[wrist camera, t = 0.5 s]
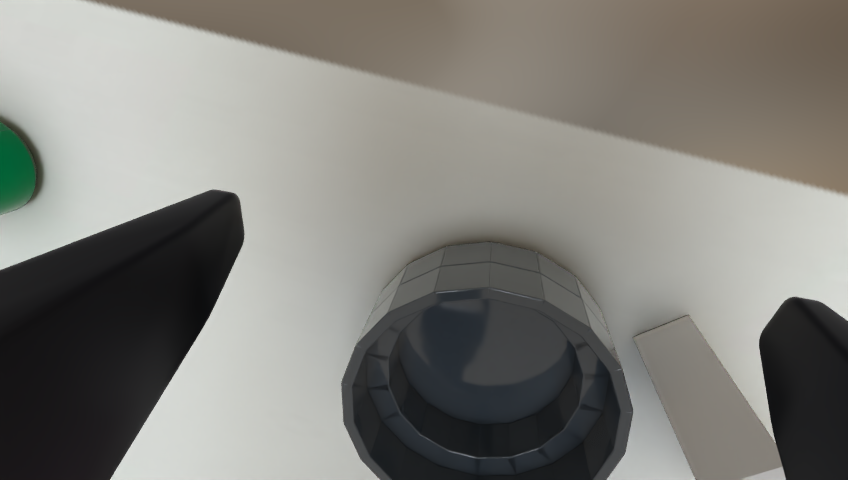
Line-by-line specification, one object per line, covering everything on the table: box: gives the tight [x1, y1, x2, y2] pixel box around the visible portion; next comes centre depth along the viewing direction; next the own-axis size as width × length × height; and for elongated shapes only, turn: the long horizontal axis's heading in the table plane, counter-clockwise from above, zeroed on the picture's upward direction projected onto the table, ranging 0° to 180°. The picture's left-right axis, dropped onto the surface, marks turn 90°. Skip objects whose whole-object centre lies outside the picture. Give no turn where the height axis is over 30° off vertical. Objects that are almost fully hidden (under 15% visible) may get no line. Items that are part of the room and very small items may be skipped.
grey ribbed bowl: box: [341, 242, 633, 480], centre depth 24 cm, size 12×12×6 cm
